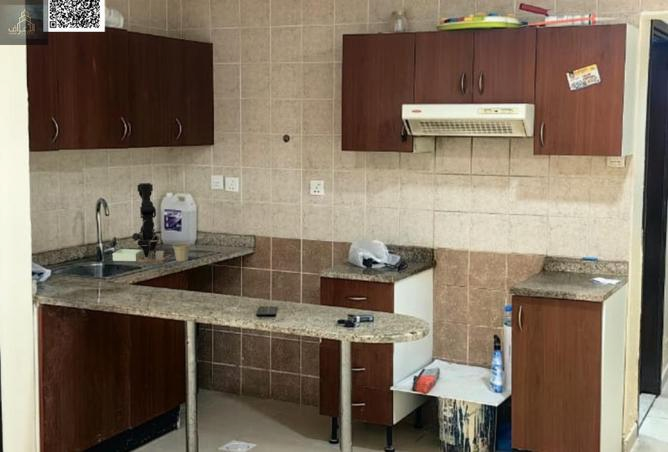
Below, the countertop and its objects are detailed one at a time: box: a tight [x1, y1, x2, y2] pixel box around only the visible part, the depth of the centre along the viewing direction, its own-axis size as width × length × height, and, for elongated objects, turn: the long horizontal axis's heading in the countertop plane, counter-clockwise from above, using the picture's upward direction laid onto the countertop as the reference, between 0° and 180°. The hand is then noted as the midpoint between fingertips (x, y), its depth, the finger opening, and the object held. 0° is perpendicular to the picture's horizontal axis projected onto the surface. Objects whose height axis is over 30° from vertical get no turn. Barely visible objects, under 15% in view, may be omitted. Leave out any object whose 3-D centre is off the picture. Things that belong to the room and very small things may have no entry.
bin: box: [112, 248, 144, 262], centre depth 540 cm, size 13×13×5 cm
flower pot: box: [172, 243, 191, 262], centre depth 534 cm, size 9×9×9 cm
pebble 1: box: [144, 251, 155, 259], centre depth 539 cm, size 4×4×4 cm
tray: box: [136, 253, 173, 263], centre depth 539 cm, size 17×14×2 cm
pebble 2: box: [154, 250, 165, 259], centre depth 538 cm, size 4×4×4 cm
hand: (149, 255), depth 539 cm, fingers open, 9 cm apart
